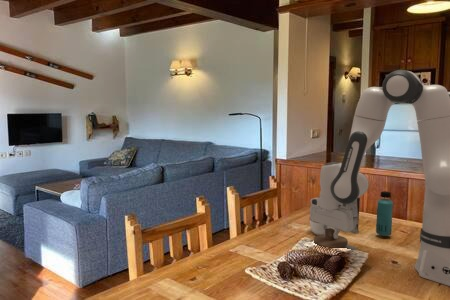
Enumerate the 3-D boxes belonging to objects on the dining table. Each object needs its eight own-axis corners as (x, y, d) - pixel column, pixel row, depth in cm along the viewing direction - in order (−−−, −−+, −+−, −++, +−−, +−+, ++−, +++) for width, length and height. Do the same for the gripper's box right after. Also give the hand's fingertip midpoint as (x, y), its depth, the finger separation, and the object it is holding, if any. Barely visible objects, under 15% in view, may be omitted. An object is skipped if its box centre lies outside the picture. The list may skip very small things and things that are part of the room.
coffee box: (358, 233, 170) (360, 198, 168) (344, 233, 170) (345, 197, 168) (352, 227, 179) (353, 193, 177) (338, 226, 179) (339, 193, 177)
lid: (354, 243, 150) (355, 231, 150) (331, 250, 144) (331, 237, 143) (330, 234, 161) (330, 222, 161) (307, 240, 155) (307, 228, 154)
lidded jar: (336, 233, 170) (337, 212, 169) (329, 240, 161) (330, 218, 160) (313, 228, 176) (314, 209, 175) (305, 235, 167) (306, 214, 166)
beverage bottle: (388, 234, 169) (391, 190, 166) (393, 239, 162) (396, 193, 160) (373, 234, 169) (375, 189, 167) (377, 239, 163) (380, 193, 160)
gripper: (357, 207, 143) (357, 242, 145) (318, 196, 161) (318, 228, 162) (345, 209, 140) (345, 245, 142) (307, 198, 158) (307, 231, 159)
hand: (330, 236), depth 152 cm, fingers closed on lid, 3 cm apart
